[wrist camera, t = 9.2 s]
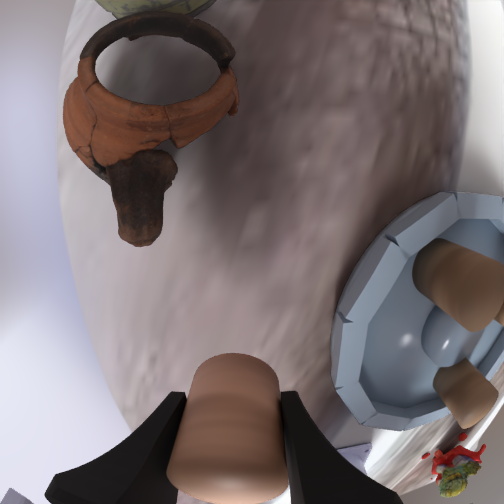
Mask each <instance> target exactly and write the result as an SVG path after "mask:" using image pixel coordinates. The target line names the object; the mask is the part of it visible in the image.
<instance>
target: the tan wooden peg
mask: <svg viewBox="0 0 504 504" xmlns="http://www.w3.org/2000/svg"><path fill="white" fill-rule="evenodd" d="M412 279H413V283H414V285H415V287H416V289H417V290H418V291H419V292H420V293H421V294H423V295H424V296H425V297H427V298H428V299H429V300H430V301H432V302H433V303H434V304H436V305H437V306H438V307H439V308H441V309H442V310H443V311H444V312H446V313H447V314H448V315H449V316H450V317H452V318H453V319H454V320H455V321H457V322H458V323H459V324H460V325H461V326H463V327H464V328H465V329H466V330H468V331H470V332H477V331H480V330H482V329H483V328H485V327H486V326H487V325H489V324H490V323H491V322H492V320H493V319H494V318H495V317H496V315H497V314H498V312H499V310H500V309H501V306H502V304H503V302H504V265H503V264H502V263H500V262H499V261H496V260H494V259H492V258H490V257H487V256H485V255H483V254H480V253H478V252H475V251H473V250H471V249H468V248H466V247H463V246H461V245H458V244H456V243H453V242H451V241H448V240H446V239H443V238H435V239H433V240H432V241H431V242H429V243H428V244H427V245H426V246H424V247H423V248H422V249H420V250H419V252H418V254H417V256H416V258H415V260H414V263H413V269H412Z"/></svg>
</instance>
